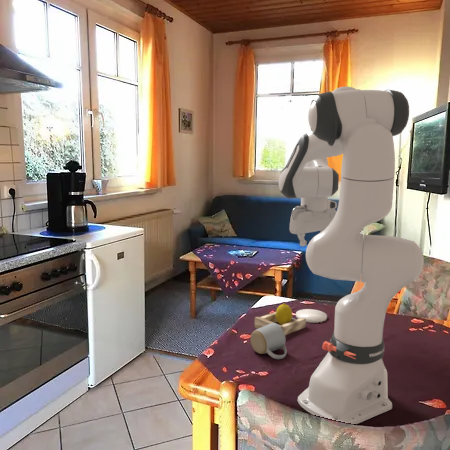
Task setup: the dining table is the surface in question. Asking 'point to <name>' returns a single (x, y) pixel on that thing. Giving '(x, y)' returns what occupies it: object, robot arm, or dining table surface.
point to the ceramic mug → (269, 340)
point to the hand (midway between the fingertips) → (312, 244)
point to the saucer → (312, 315)
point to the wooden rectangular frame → (287, 328)
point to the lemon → (283, 314)
